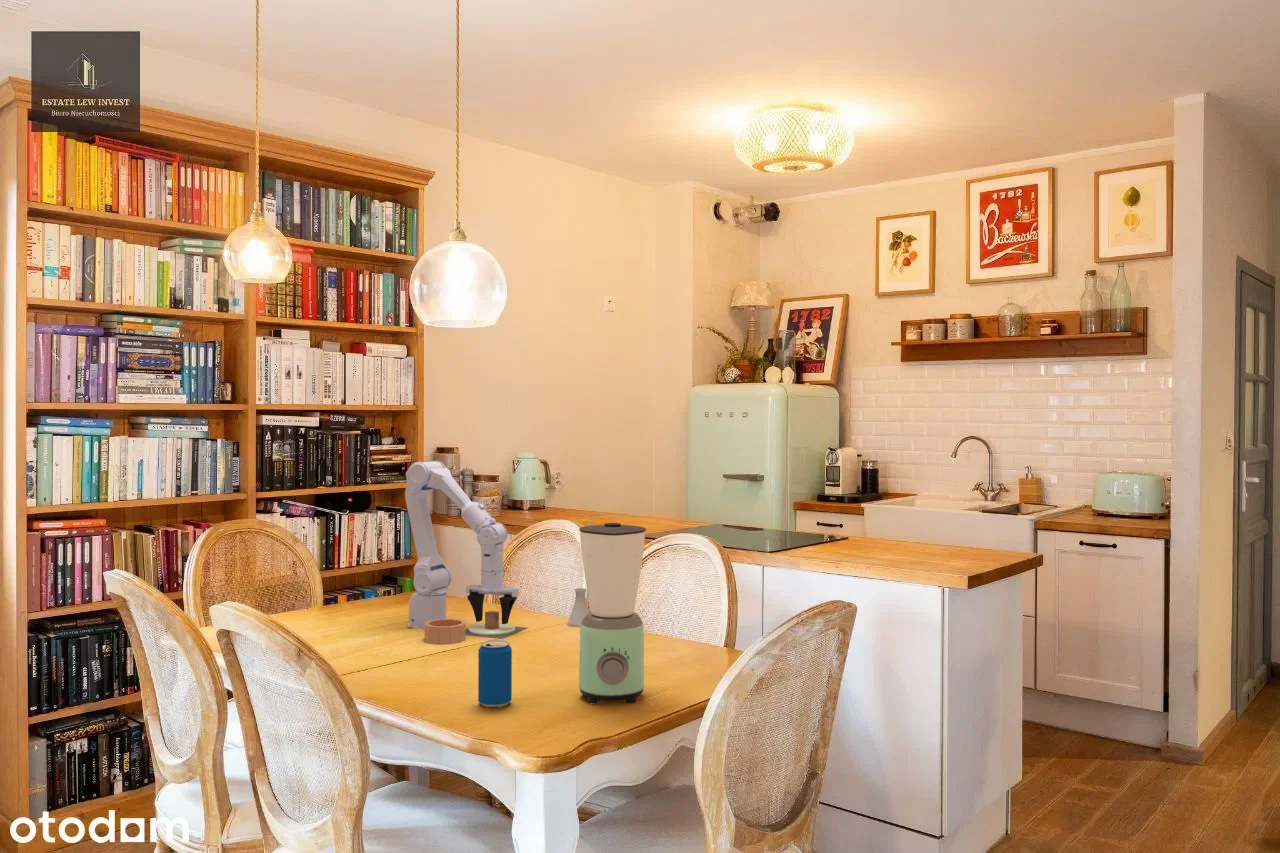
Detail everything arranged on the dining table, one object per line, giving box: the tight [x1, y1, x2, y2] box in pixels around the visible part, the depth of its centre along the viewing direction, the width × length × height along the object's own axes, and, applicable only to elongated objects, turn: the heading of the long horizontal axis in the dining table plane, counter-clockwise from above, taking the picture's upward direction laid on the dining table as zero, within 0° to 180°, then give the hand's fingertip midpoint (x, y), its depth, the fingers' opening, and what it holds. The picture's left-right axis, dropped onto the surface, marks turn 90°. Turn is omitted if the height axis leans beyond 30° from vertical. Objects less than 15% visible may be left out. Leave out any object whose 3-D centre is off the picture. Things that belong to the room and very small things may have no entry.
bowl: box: [424, 618, 467, 645], centre depth 249 cm, size 10×10×4 cm
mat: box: [466, 623, 528, 640], centre depth 259 cm, size 14×14×1 cm
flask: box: [567, 587, 590, 628], centre depth 268 cm, size 7×7×10 cm
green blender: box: [578, 522, 647, 704], centre depth 202 cm, size 19×13×35 cm
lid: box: [468, 610, 515, 636], centre depth 259 cm, size 12×12×5 cm
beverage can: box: [477, 639, 513, 708], centre depth 195 cm, size 6×6×12 cm
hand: (492, 622), depth 259 cm, fingers open, 7 cm apart
